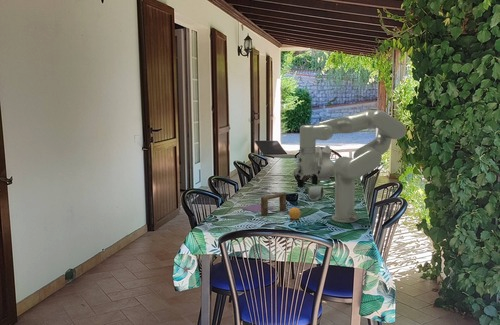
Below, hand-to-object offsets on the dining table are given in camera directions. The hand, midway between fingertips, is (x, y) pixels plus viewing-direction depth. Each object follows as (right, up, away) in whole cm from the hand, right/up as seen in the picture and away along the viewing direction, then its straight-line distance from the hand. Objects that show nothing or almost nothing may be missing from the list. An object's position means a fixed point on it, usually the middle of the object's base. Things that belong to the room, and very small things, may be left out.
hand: (307, 185), depth 217 cm
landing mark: (-24, -14, +33) cm, 43 cm away
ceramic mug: (+11, -11, +51) cm, 54 cm away
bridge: (-15, -16, +22) cm, 31 cm away
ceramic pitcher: (+25, -1, +111) cm, 114 cm away
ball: (-5, -14, +9) cm, 18 cm away
